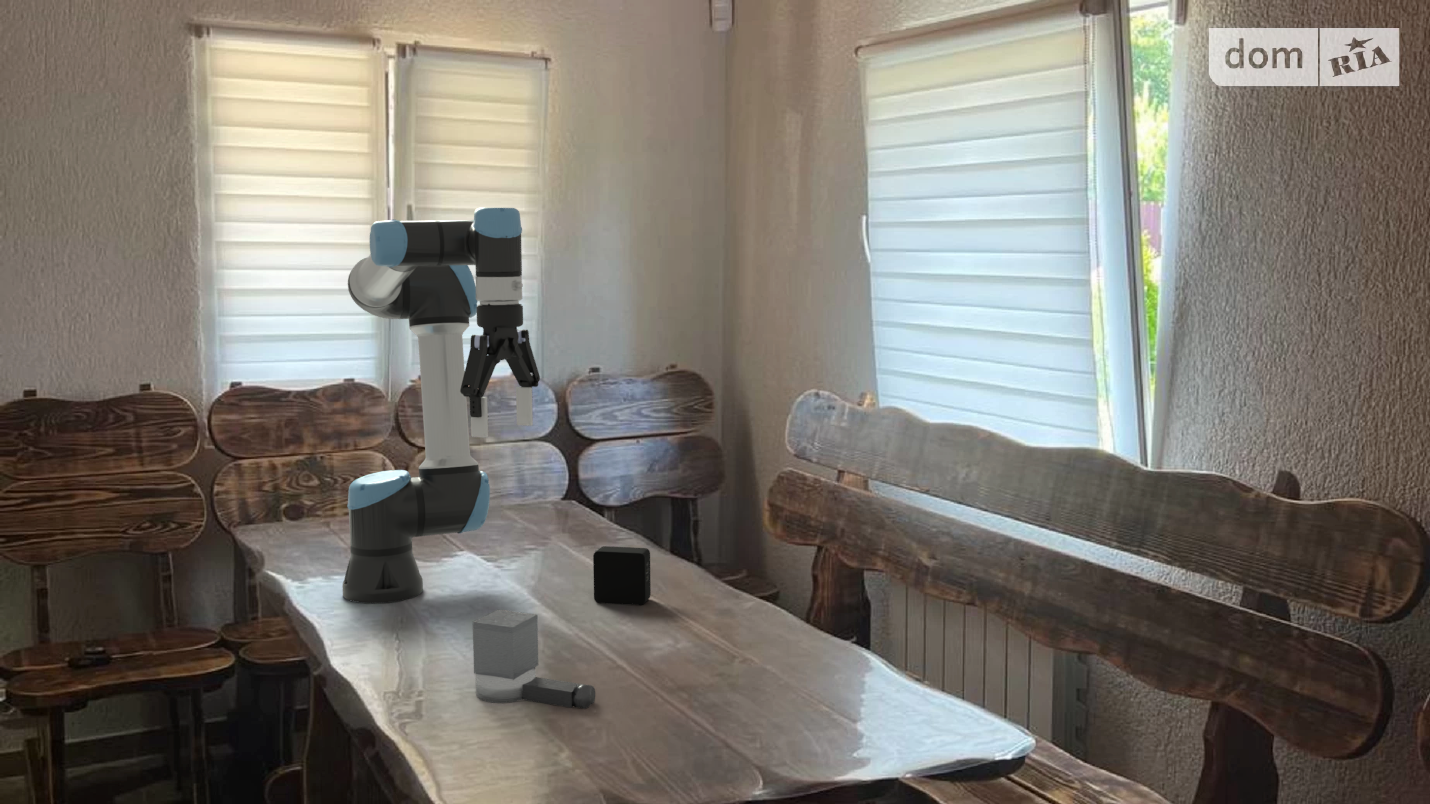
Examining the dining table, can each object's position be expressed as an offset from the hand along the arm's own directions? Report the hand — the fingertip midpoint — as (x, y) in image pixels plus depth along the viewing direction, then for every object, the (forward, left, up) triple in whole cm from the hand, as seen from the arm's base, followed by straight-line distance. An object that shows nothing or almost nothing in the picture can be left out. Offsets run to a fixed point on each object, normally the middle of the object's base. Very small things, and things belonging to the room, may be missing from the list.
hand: (502, 431), depth 216 cm
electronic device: (+5, +31, -37) cm, 49 cm away
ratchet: (+17, -20, -37) cm, 45 cm away
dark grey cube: (+12, -19, -33) cm, 40 cm away
